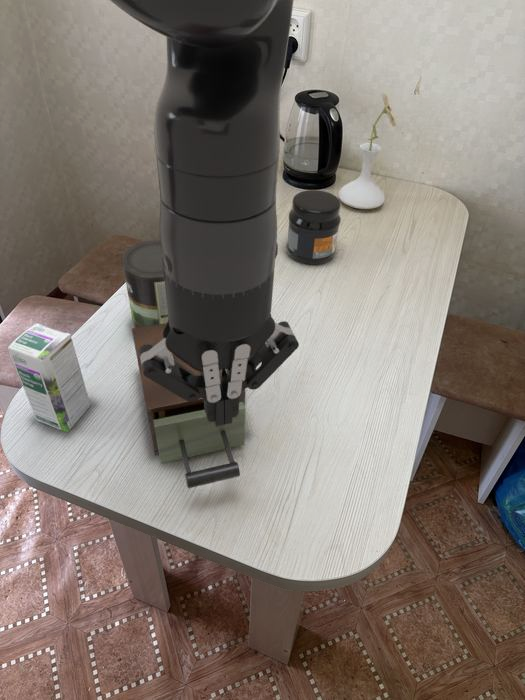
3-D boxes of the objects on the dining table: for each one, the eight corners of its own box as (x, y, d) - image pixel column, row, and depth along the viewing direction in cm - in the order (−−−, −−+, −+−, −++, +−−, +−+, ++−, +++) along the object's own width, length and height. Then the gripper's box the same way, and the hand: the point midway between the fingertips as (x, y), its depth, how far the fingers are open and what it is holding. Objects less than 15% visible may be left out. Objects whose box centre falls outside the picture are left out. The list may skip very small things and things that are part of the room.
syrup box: (34, 421, 73) (3, 348, 63) (61, 393, 77) (35, 320, 67) (67, 433, 71) (41, 361, 61) (92, 404, 75) (71, 331, 65)
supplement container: (344, 259, 107) (353, 207, 98) (300, 270, 103) (306, 217, 95) (318, 235, 113) (325, 184, 105) (277, 245, 110) (281, 193, 101)
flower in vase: (376, 218, 120) (400, 107, 103) (331, 206, 124) (347, 97, 106) (390, 196, 129) (414, 90, 112) (347, 185, 132) (365, 81, 115)
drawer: (258, 487, 65) (261, 451, 60) (169, 509, 63) (163, 474, 57) (219, 371, 80) (219, 334, 75) (146, 385, 77) (139, 348, 72)
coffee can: (131, 346, 85) (118, 277, 75) (135, 307, 92) (124, 240, 83) (192, 343, 86) (187, 275, 76) (192, 305, 93) (187, 239, 84)
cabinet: (244, 435, 72) (245, 390, 66) (154, 455, 69) (146, 409, 63) (218, 360, 83) (217, 314, 77) (140, 374, 80) (131, 328, 73)
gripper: (293, 217, 38) (277, 375, 50) (112, 238, 35) (141, 401, 47) (332, 275, 33) (303, 434, 45) (124, 306, 30) (154, 469, 42)
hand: (221, 417), depth 46 cm, fingers closed
